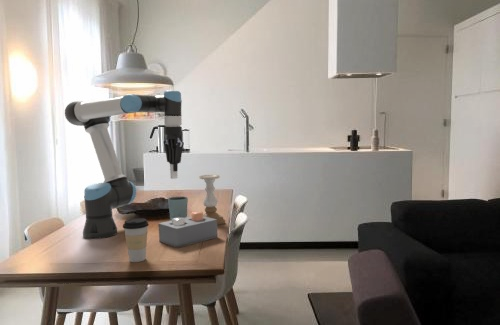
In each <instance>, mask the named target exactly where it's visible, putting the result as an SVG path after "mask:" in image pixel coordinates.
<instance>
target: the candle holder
mask: <svg viewBox="0 0 500 325" xmlns="http://www.w3.org/2000/svg"><path fill="white" fill-rule="evenodd" d="M220 177H221V176H220V175H218V174H204V175H200V176H198V178H199V179H200V180H203V181H204V182H205V187H204V190H205V192H206V195H205V196H204V198H203V200H202V201H203V202H202V204H203V206H204V207H205V208H204V212H205V213H203V216H205V217H209V218H213V219H217V226H218V225H224V224H226V219H224V216H222V215H220V214H219V213H218V212H217V211H218V209H217V207H216V206H218V202H219V201H218V199H217V197H216V196H215V194H214V192H215V190H216V187H215V185H214V184H215V181H216V180H217V179H220Z"/></svg>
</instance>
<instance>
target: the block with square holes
mask: <svg viewBox="0 0 500 325" xmlns="http://www.w3.org/2000/svg"><path fill="white" fill-rule="evenodd" d="M184 223H185V224H183V225H179V226H175V225H172V221H170V220H167V221H163V222H158V239H159V240H158V241H159V242H160V243H163V244H165V245H168V246H172V247H174V248H177V249H179V248H182V247H186V246H190V245H194V244H197V243H201V242H205V241H210V240H211V239H212V240H213V239H216V238H219V237H218V225H217V219H213V218H209V217H205V216H203V220H201V221H196V222H195V221H192V220H191V216H187V217H186V218H184Z"/></svg>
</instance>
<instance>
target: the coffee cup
mask: <svg viewBox="0 0 500 325" xmlns="http://www.w3.org/2000/svg"><path fill="white" fill-rule="evenodd" d="M148 227H149V221H147V219H146V218H143V217H141V218H140V217H138V218H137V217H136V218H130V219H125V221H124V223H123V224H122V228H123V229H124V237H125V243H126V248H127V252H128V259H129V262H131V263H139V262H144V261H145V260H146V254H147V252H146V251H147V243H148V242H147V241H148V240H147V239H148Z"/></svg>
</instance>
